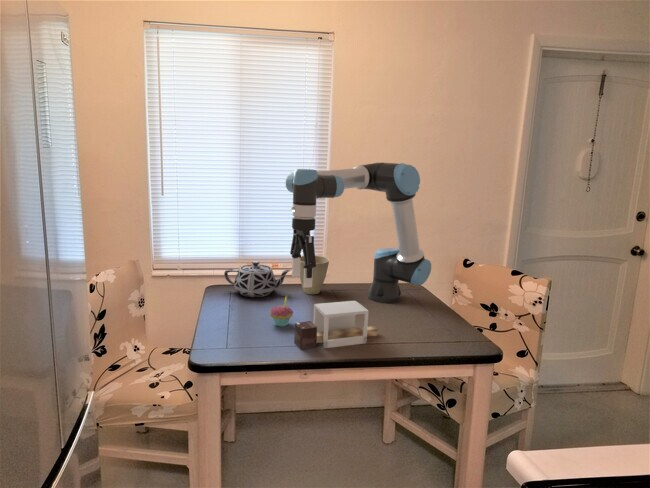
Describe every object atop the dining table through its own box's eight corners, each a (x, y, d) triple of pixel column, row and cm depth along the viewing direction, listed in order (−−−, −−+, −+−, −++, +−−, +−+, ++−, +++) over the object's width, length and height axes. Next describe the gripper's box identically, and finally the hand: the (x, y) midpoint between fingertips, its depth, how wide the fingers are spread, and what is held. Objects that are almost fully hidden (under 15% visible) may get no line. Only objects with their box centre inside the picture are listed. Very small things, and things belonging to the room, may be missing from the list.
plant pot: (289, 292, 212) (290, 259, 209) (308, 285, 224) (309, 253, 221) (315, 299, 204) (316, 264, 201) (333, 291, 216) (335, 259, 213)
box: (316, 347, 155) (317, 327, 153) (300, 349, 152) (301, 329, 151) (309, 340, 160) (310, 320, 158) (293, 342, 157) (294, 322, 156)
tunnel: (353, 331, 170) (355, 300, 167) (366, 343, 160) (368, 310, 157) (312, 335, 164) (314, 304, 161) (323, 348, 154) (325, 314, 151)
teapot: (288, 301, 199) (289, 268, 196) (218, 298, 200) (218, 265, 197) (292, 289, 218) (293, 258, 215) (229, 285, 218) (229, 255, 215)
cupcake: (295, 322, 176) (296, 292, 173) (286, 330, 168) (287, 299, 166) (275, 318, 179) (276, 289, 176) (265, 326, 171) (266, 295, 168)
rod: (373, 333, 170) (373, 325, 169) (376, 336, 167) (377, 328, 166) (310, 341, 160) (310, 333, 160) (313, 344, 157) (313, 336, 157)
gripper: (282, 212, 157) (280, 272, 161) (305, 223, 135) (302, 293, 139) (303, 212, 160) (300, 271, 164) (328, 223, 138) (325, 291, 142)
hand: (301, 281), depth 152 cm, fingers open, 12 cm apart
